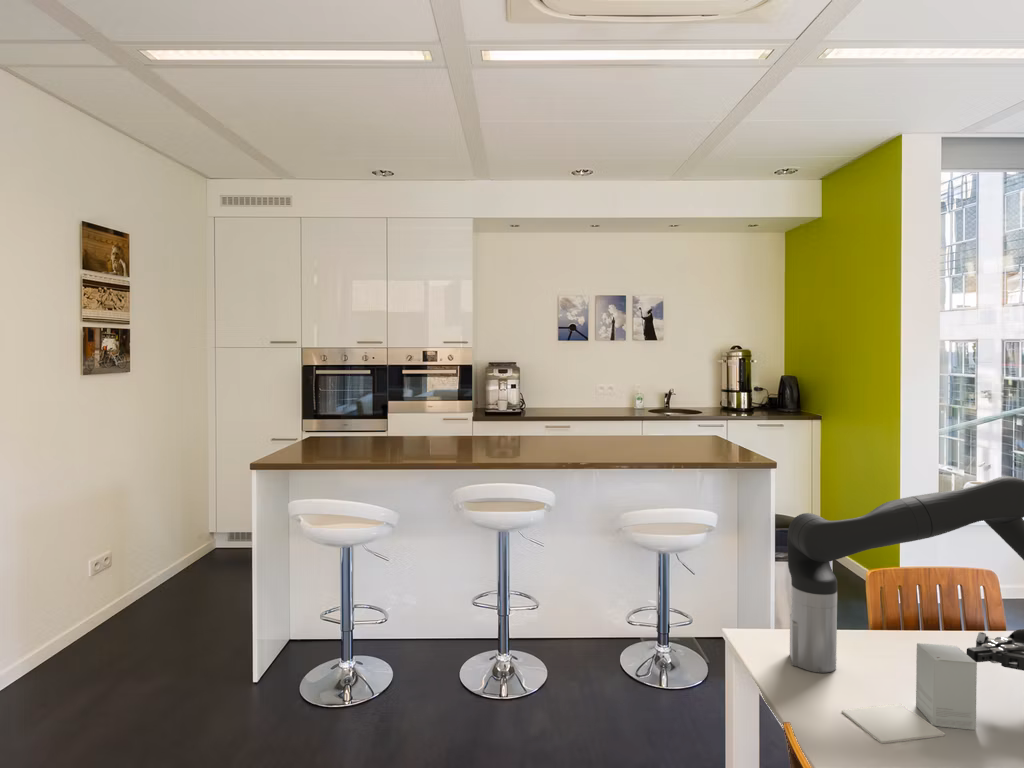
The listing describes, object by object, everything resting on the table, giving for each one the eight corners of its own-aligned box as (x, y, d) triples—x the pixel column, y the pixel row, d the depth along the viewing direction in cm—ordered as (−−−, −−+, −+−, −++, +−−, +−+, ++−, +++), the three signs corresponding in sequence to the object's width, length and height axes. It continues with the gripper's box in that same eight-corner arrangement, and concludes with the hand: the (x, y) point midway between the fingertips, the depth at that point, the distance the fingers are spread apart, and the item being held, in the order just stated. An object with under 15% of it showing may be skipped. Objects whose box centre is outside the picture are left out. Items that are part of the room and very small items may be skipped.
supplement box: (977, 731, 112) (978, 663, 111) (932, 726, 113) (933, 659, 113) (956, 709, 119) (957, 645, 119) (914, 704, 121) (915, 641, 120)
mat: (881, 743, 108) (881, 741, 108) (841, 712, 118) (841, 710, 118) (944, 735, 110) (944, 733, 110) (900, 705, 120) (900, 703, 120)
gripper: (1013, 616, 126) (940, 621, 123) (1083, 644, 113) (1003, 651, 110) (1012, 651, 126) (939, 658, 123) (1081, 684, 113) (1002, 692, 110)
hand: (970, 655), depth 117 cm, fingers closed
